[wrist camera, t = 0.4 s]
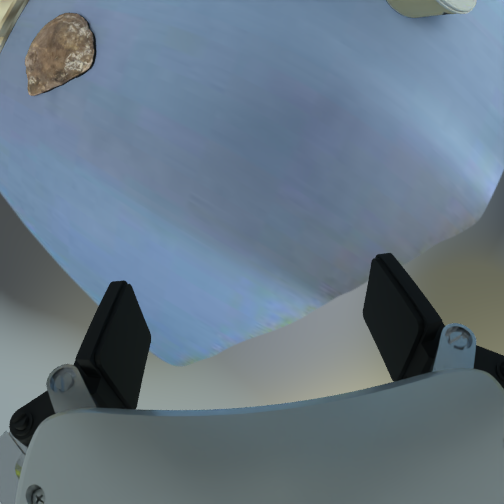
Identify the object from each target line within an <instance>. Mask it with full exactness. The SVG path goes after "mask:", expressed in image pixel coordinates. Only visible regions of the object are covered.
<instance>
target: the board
mask: <svg viewBox="0 0 504 504" xmlns="http://www.w3.org/2000/svg"><path fill="white" fill-rule="evenodd" d="M28 1H29V0H0V52H1V50H2V48H3V46H4V44H5V42H6V40H7V38H8V36H9V34H10V32H11V30H12V29H13V27H14V25H15V23H16V21H17V19H18V18H19V16H20V14H21V13H22V11H23V9H24V8H25V6H26V4H27V3H28Z"/></svg>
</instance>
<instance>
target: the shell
mask: <svg viewBox="0 0 504 504" xmlns="http://www.w3.org/2000/svg"><path fill="white" fill-rule="evenodd" d="M95 56H96V45H95V36H94V34H93V32H91V31H90V29H89V24H88V22H87V20H86V19H85V18H83V17H82V16H80V15H79V14H74V13H64V14H62V15H59V16H58V17H56V18H55V19H53V20H52V21H50V22H49V23H47V24H46V25H45V26H44V27H43V28H42V29H41V31H40V32H39V33H38V34H37V36H36V37H35V38H34V40H33V42H32V43H31V45H30V48H29V50H28V53H27V56H26V58H25V66H26V74H27V77H28V91H29V95H31V96H34V95H38V94H40V93H45V92H48V91H51V90H52V89H54V88H56V87H59V86H61V85H64V84H65V83H67V82H69V81H70V80H72V79H74V77H76V78H77V77H79V76H81V75H83V74H84V73H86V72H87V71H88V70H89V69H91V68H92V66H93V64H94V61H95Z"/></svg>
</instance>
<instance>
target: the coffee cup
mask: <svg viewBox="0 0 504 504" xmlns="http://www.w3.org/2000/svg"><path fill="white" fill-rule="evenodd" d="M386 1H387V2H388V4H389V5H390V6H391V7H392V8H393V9H394V10H395V11H397V12H398V13H400V14H401V15H403V16H406V17H410V18H418V17H426V16H435V15H445V14H456V13H457V14H466V13H469V12H470V11H471V10H472V9H473V8H474V7H475V5H476V1H477V0H386Z"/></svg>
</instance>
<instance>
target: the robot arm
mask: <svg viewBox="0 0 504 504" xmlns="http://www.w3.org/2000/svg"><path fill="white" fill-rule="evenodd" d="M363 317H364V320H365V322H366V324H367V326H368V328H369V330H370V332H371V334H372V337H373V339H374V341H375V343H376V345H377V347H378V349H379V351H380V354H381V356H382V358H383V360H384V362H385V365H386V367H387V369H388V371H389V373H390V376H391V378H392V380H393V381H394V382H391V383H388V384H384V385H380V386H375V387H371V388H367V389H363V390H358V391H354V392H349V393H344V394H339V395H334V396H328V397H323V398H317V399H311V400H305V401H298V402H292V403H284V404H275V405H267V406H257V407H245V408H232V409H214V410H136V407H137V402H138V398H139V393H140V388H141V383H142V378H143V374H144V369H145V364H146V360H147V356H148V351H149V347H150V343H151V334H150V331H149V329H148V326H147V324H146V321H145V319H144V317H143V314H142V312H141V309H140V307H139V304H138V301H137V299H136V296H135V294H134V291H133V288H132V286H131V285H130V284H127V282H126V281H114V282H111V283H110V285H109V287H108V289H107V291H106V293H105V295H104V297H103V299H102V301H101V303H100V305H99V307H98V309H97V311H96V313H95V315H94V318H93V320H92V322H91V324H90V326H89V329H88V331H87V333H86V335H85V338H84V340H83V342H82V344H81V347H80V349H79V352H78V354H77V356H76V361H75V363H74V365H70V364H64V365H61V366H58V367H57V368H55V369H54V370H53V371H52V372H51V373H50V375H49V377H48V379H47V383H46V385H47V391H46V392H44V393H43V394H41V395H40V396H38V397H37V398H35V399H34V400H32V401H31V402H29V403H28V404H26V405H25V406H23V407H21V408H20V409H18V410H17V411H16V412H15V413H14V414H13V416H12V418H11V420H10V426H9V427H10V432H9V433H8V432H7V431H5V432H4V434H3V435H2V436H1V437H0V502H1V503H2V504H504V356H503V355H500V354H498V353H495V352H493V351H490V350H487V349H485V348H482V347H479V346H477V345H476V338H475V336H474V334H473V332H472V331H471V330H470V329H469V328H467V327H466V326H464V325H461V324H457V323H453V324H449V325H447V326H445V325H444V324H443V322H442V319H441V318H440V316H439V315H438V313H437V312H436V311H435V309H434V308H433V307H432V305H431V304H430V302H429V301H428V300H427V298H426V297H425V296H424V294H423V293H422V292H421V290H420V289H419V288H418V286H417V285H416V284H415V282H414V281H413V280H412V278H411V277H410V276H409V275H408V273H407V272H406V271H405V269H404V268H403V267H402V266H401V264H400V263H399V262H398V261H397V260H396V258H395V257H394V256H393V255H392V254H391V253H386V254H378V255H376V258H375V259H373V260H372V263H371V269H370V275H369V281H368V286H367V292H366V297H365V303H364V308H363Z"/></svg>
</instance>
